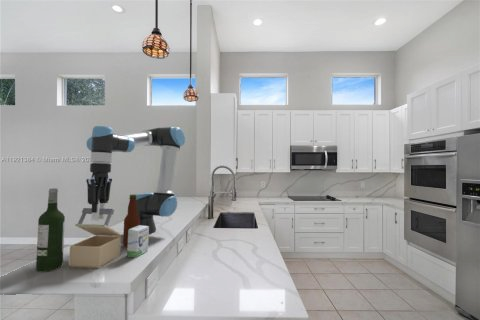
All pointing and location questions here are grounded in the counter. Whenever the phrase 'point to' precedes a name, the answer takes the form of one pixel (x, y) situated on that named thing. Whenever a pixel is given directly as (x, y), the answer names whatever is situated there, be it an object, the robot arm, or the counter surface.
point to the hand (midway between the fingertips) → (97, 219)
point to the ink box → (137, 241)
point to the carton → (94, 251)
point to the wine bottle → (50, 236)
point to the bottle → (130, 218)
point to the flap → (97, 229)
